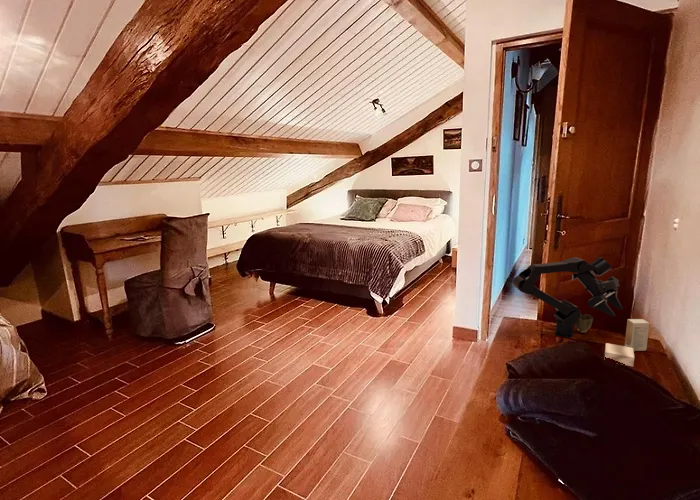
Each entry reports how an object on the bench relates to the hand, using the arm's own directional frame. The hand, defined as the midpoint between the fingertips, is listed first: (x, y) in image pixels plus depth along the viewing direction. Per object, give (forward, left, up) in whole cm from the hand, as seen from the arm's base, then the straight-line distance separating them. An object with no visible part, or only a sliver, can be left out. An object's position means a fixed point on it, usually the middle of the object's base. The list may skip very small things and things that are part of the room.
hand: (617, 312), depth 163 cm
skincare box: (+7, -2, -14) cm, 16 cm away
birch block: (+1, -15, -14) cm, 21 cm away
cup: (-12, +6, -14) cm, 19 cm away
